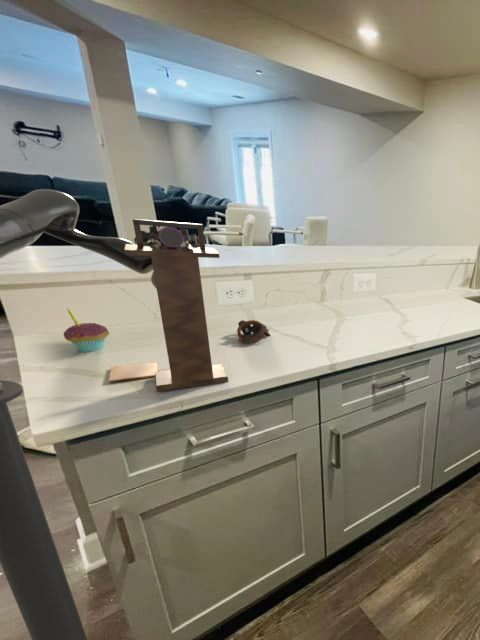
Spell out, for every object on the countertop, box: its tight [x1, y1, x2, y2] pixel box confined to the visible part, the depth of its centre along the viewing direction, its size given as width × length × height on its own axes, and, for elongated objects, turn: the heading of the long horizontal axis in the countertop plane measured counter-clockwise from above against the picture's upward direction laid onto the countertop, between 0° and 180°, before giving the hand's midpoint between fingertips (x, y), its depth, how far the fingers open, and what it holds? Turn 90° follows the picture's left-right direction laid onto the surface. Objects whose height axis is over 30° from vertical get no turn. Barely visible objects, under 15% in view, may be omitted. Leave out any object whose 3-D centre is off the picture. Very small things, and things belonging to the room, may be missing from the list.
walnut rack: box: [124, 218, 229, 392], centre depth 90 cm, size 16×9×38 cm, turn 129°
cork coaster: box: [108, 361, 159, 383], centre depth 96 cm, size 9×9×1 cm
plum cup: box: [157, 226, 184, 248], centre depth 89 cm, size 12×4×4 cm, turn 39°
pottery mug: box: [236, 319, 271, 345], centre depth 123 cm, size 12×10×8 cm
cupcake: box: [62, 307, 110, 353], centre depth 103 cm, size 9×8×12 cm
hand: (168, 229), depth 89 cm, fingers closed on plum cup, 4 cm apart
